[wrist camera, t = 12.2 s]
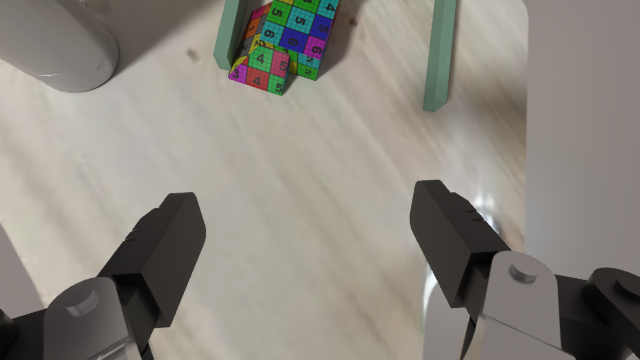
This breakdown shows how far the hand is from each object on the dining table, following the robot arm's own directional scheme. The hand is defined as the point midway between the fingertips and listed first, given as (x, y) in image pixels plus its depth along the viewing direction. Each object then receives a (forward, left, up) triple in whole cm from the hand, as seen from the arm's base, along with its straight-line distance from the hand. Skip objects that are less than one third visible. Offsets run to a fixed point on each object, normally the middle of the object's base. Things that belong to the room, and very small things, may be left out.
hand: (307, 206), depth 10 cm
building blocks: (-5, +22, -24) cm, 32 cm away
